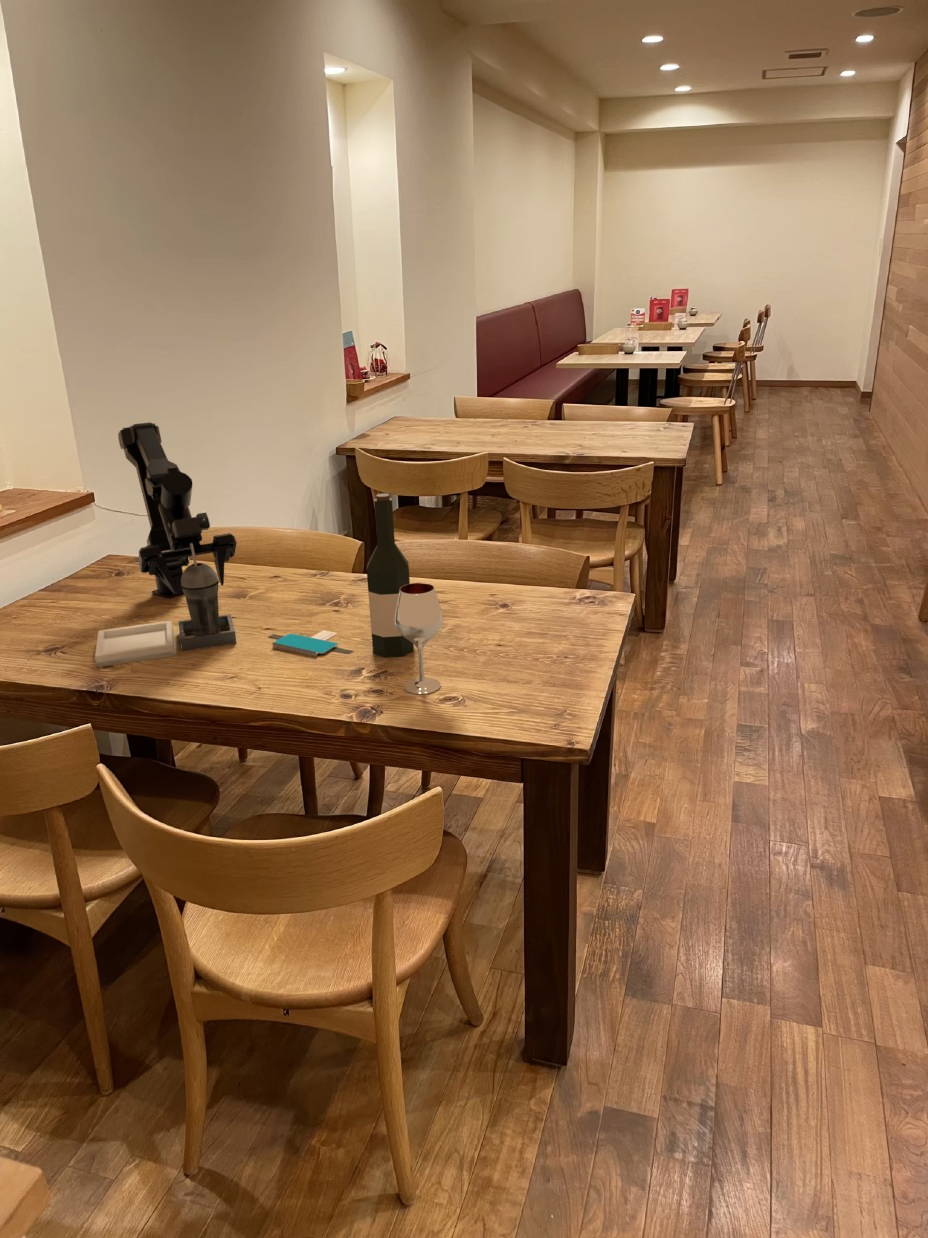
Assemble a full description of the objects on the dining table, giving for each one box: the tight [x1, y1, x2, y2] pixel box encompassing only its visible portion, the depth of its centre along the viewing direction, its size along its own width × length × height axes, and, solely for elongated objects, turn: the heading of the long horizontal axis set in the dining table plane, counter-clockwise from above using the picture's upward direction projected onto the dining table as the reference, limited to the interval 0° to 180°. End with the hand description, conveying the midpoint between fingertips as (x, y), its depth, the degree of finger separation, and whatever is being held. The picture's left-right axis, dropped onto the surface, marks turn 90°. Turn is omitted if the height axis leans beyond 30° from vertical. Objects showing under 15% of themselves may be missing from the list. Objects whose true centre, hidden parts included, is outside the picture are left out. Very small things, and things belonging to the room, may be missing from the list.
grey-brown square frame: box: [178, 613, 237, 652], centre depth 180 cm, size 10×10×2 cm
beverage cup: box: [181, 543, 220, 636], centre depth 177 cm, size 7×7×20 cm
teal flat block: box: [268, 629, 353, 658], centre depth 176 cm, size 20×12×2 cm, turn 60°
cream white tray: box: [94, 620, 175, 668], centre depth 176 cm, size 14×14×2 cm
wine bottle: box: [366, 493, 415, 659], centre depth 166 cm, size 8×8×30 cm
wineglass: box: [394, 582, 444, 695], centre depth 152 cm, size 8×8×18 cm
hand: (199, 588), depth 177 cm, fingers open, 9 cm apart
